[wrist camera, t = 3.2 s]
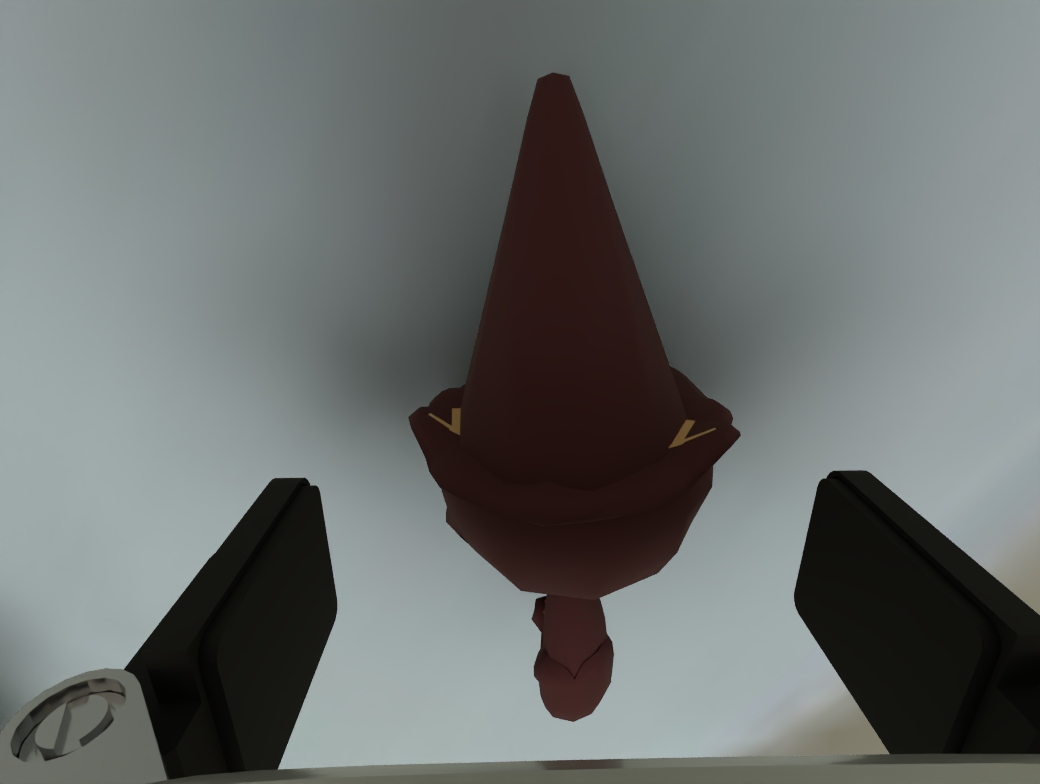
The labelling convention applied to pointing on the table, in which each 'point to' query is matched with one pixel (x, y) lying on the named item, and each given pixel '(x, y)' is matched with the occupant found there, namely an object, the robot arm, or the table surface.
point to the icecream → (570, 412)
